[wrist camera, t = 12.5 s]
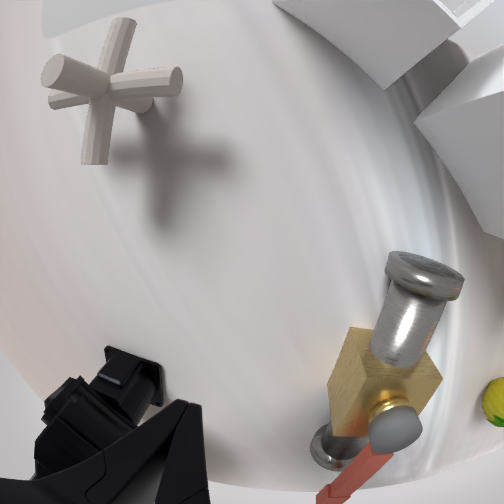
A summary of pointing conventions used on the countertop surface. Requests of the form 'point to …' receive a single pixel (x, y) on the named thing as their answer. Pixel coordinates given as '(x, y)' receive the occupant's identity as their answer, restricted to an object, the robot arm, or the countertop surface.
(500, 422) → the lemon
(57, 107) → the pipe connector
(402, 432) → the lever
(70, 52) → the countertop surface
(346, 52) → the storage container
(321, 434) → the valve body
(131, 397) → the robot arm
